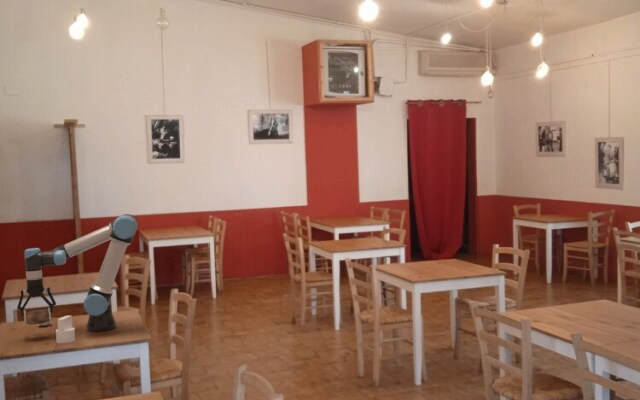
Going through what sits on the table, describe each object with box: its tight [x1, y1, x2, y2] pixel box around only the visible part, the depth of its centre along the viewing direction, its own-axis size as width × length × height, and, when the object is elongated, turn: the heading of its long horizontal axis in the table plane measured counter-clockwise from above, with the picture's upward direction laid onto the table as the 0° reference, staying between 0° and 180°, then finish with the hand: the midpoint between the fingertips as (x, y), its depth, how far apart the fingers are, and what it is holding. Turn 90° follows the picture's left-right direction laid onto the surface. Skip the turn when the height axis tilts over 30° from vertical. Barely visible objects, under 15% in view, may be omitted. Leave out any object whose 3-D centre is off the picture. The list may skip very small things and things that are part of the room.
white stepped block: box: [55, 315, 76, 344], centre depth 339 cm, size 9×9×12 cm
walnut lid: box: [25, 309, 50, 326], centre depth 346 cm, size 11×11×5 cm
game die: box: [39, 317, 53, 328], centre depth 375 cm, size 9×8×10 cm
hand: (38, 321), depth 346 cm, fingers closed on walnut lid, 11 cm apart
